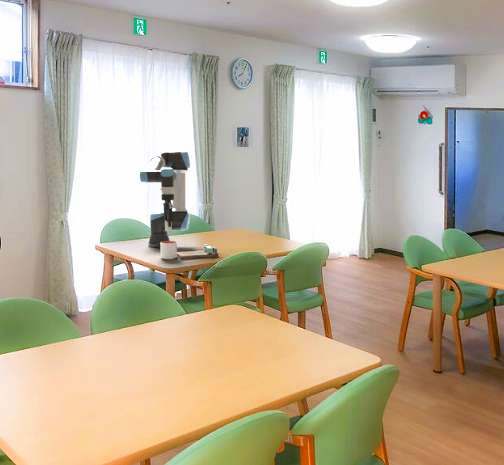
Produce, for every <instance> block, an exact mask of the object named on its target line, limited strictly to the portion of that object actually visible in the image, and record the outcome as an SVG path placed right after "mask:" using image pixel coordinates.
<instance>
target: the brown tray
mask: <svg viewBox="0 0 504 465" xmlns="http://www.w3.org/2000/svg"><path fill="white" fill-rule="evenodd" d="M211 247H212V248H213V253H207V252H206V251H205V250H204V249H202V250H201V249H200V250H189V251H177V257H176V258H179V259H180V260H192V259H194V260H195V259H204V258H205V259H207V258H218V257H219V253H218V248H217V247H216V246H214V245H213V246H211Z"/></svg>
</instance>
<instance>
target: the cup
mask: <svg viewBox="0 0 504 465" xmlns="http://www.w3.org/2000/svg"><path fill="white" fill-rule="evenodd" d="M177 246H178V242H177V241H175V240H170V241H163V242H160V247H159V248H160V259H163V260H174V259H176V258H178V257H177V252H178V247H177Z"/></svg>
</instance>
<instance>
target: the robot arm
mask: <svg viewBox="0 0 504 465" xmlns="http://www.w3.org/2000/svg"><path fill="white" fill-rule="evenodd" d="M189 168H191V161H190V156H189V153H188V151H186V150H162V151H160V152H157V153H156V154H154V155H153V156H152V158H151V159H150V164H149V165H148V166H147V169H144V170H140V172H139V180H140V182H141V183H150V184H151V183H159V184H160V186H161V188H160V190H161V196H160V197H161V201H164V202H163V203H162V205H163V210H162V211H155V212H152V213H151V214H150V218H149V221H150V222H149V223H150V236H149V238H148V242H147V243H148V247H150V248H160V242H163V241H171V240H170V237H169V234H168V233H172V232H173V231H187V230H188V229H189V226H190V220H191V214H190V213H189V212H188V210H187V209H186V173H187V172H189V171H188V169H189Z"/></svg>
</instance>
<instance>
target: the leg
mask: <svg viewBox="0 0 504 465" xmlns="http://www.w3.org/2000/svg"><path fill="white" fill-rule="evenodd" d="M203 246H204V247H203V250H205V251H206V252H207V253H213V248H212V247H213V246H210V245H209V244H208V243H207V244H206V243H205V244H204V245H203Z"/></svg>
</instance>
